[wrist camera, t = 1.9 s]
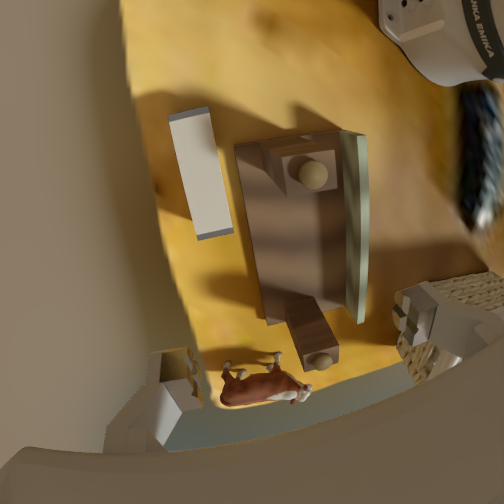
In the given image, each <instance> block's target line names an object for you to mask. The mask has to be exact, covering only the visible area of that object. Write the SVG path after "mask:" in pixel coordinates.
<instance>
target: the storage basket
mask: <svg viewBox="0 0 504 504" xmlns="http://www.w3.org/2000/svg"><path fill="white" fill-rule="evenodd" d="M430 284H431V285H433V286H434V287H435V288H436V289H437V290H438V291H439V292H440V293H441V294H442V295H443V296H444V297H446V298H447V299H448V300H449V301H450V300H454V301H457V302H461V303H464V304H467V305H470V306H474V307H477V308H480V309H483V310H487V311H490V312H493V313H496V314H497V315H498V316H499V317H500V318H501V319H503V320H504V279H503V278H502V277H501V276H499V275H497V274H495V273H494V272H485V273H478V274H470V275H467V276H461V277H453V278H450V279H446V280H441V281H438V282H437V281H435V282H430ZM400 342H401V343H400ZM396 349H397V350H398V352H399V354H400V356H401V358H402V359H403V361H404V364H405V366H406V367H407V369H408V373H409V375H410V376H411V377H413V378H412V379H413V381H414V382H415V385H418V384H420V383H422V382H424V381H426V380H428V379H430V378H432V377H434V376H436V375H438V374H440V373H442V372H444V371H446V370H448V369H449V368H451V367H453V366H455V365H457V364H458V363H460V362H461V361H462V358H460V357H458V356H456V355H454V354H452V353H450V352H448V351H446V350H444V349H442V348H440V347H438V346H436V345H434V344H433V343H431V342H429V340H428V341H426V342H423V343H421V344H419V345H416V346H414V347H411V345H410V344H409V343H408V341H407V340H406V339H405V338H404V332H403V331H401V333H400V335H399V337H398V341H397V345H396Z"/></svg>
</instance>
